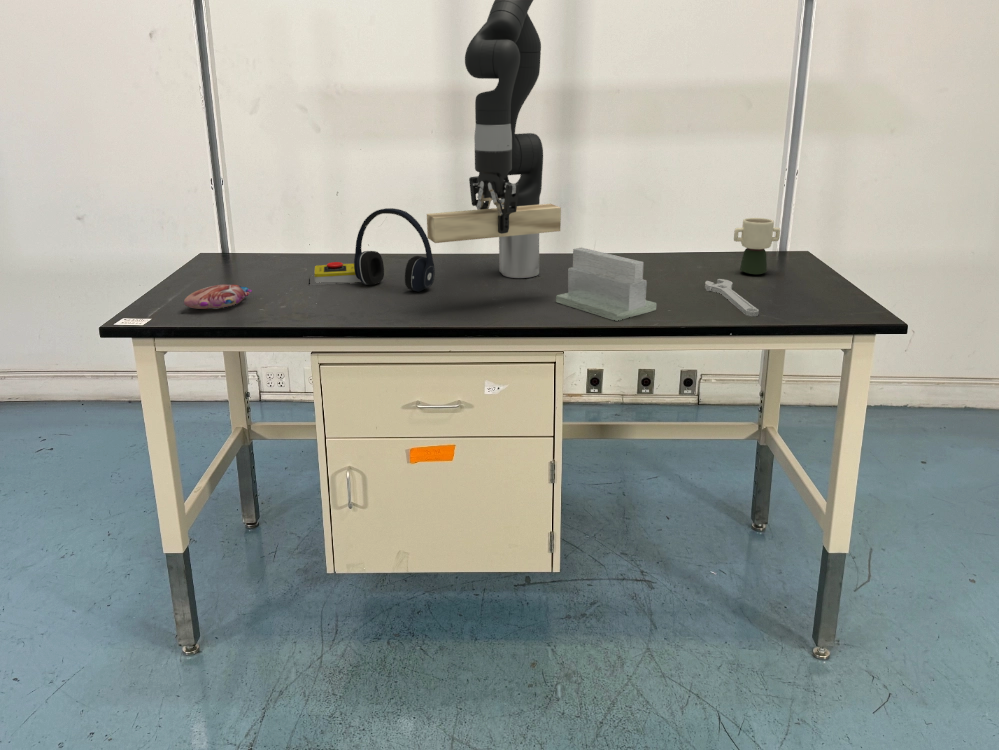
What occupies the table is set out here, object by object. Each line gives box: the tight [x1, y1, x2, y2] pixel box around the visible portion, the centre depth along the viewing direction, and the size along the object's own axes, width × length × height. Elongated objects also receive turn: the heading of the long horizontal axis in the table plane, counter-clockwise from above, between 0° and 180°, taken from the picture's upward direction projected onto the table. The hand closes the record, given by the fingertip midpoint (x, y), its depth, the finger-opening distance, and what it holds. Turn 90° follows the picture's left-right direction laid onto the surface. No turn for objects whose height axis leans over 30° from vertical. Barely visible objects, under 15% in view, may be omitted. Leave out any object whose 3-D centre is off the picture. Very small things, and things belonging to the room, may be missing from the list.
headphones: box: [353, 207, 436, 292], centre depth 184 cm, size 20×7×18 cm, turn 63°
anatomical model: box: [183, 283, 253, 310], centre depth 175 cm, size 11×6×15 cm
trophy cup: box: [733, 217, 781, 275], centre depth 193 cm, size 11×7×13 cm, turn 89°
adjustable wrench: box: [704, 278, 759, 317], centre depth 175 cm, size 25×6×2 cm, turn 0°
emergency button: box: [313, 261, 361, 283], centre depth 194 cm, size 9×4×15 cm
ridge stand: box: [555, 247, 657, 322], centre depth 169 cm, size 18×12×11 cm, turn 39°
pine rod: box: [426, 203, 562, 244], centre depth 167 cm, size 5×28×5 cm, turn 112°
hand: (493, 230), depth 167 cm, fingers closed on pine rod, 6 cm apart
